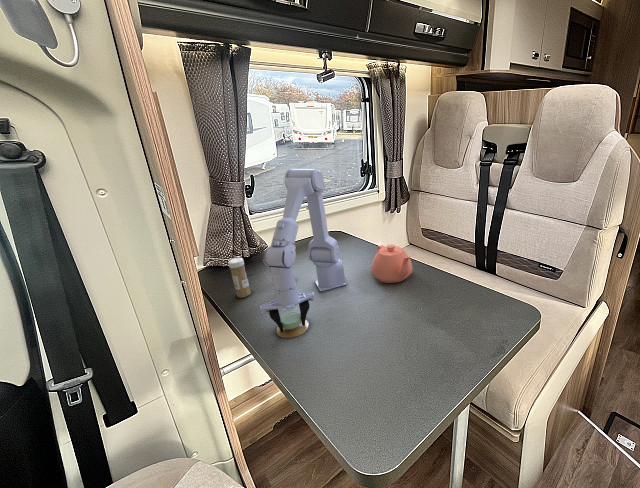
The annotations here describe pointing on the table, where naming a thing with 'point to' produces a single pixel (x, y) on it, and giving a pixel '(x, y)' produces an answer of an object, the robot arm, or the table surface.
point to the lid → (291, 320)
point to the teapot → (391, 264)
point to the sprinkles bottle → (239, 277)
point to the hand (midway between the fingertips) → (292, 326)
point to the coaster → (293, 331)
